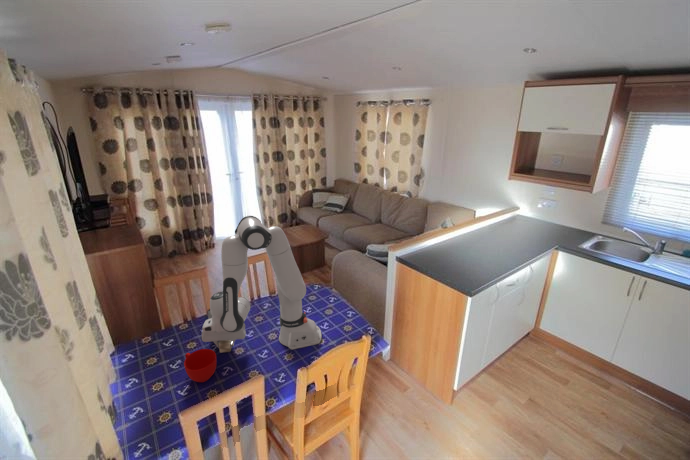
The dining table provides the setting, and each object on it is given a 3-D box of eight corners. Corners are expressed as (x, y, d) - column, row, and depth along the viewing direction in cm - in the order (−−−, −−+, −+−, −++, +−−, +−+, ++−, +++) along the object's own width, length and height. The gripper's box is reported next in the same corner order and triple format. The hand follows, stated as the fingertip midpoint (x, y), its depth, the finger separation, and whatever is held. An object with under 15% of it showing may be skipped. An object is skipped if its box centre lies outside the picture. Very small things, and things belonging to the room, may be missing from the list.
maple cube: (232, 344, 162) (231, 336, 161) (230, 351, 158) (229, 343, 156) (222, 345, 162) (220, 337, 160) (219, 352, 157) (218, 344, 155)
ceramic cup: (200, 358, 153) (197, 341, 150) (225, 373, 146) (222, 355, 142) (175, 376, 143) (171, 359, 139) (200, 393, 135) (196, 374, 132)
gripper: (245, 317, 159) (248, 339, 164) (202, 320, 156) (206, 343, 161) (243, 325, 153) (246, 348, 158) (198, 328, 150) (202, 352, 155)
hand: (225, 345), depth 159 cm, fingers closed on maple cube, 5 cm apart
